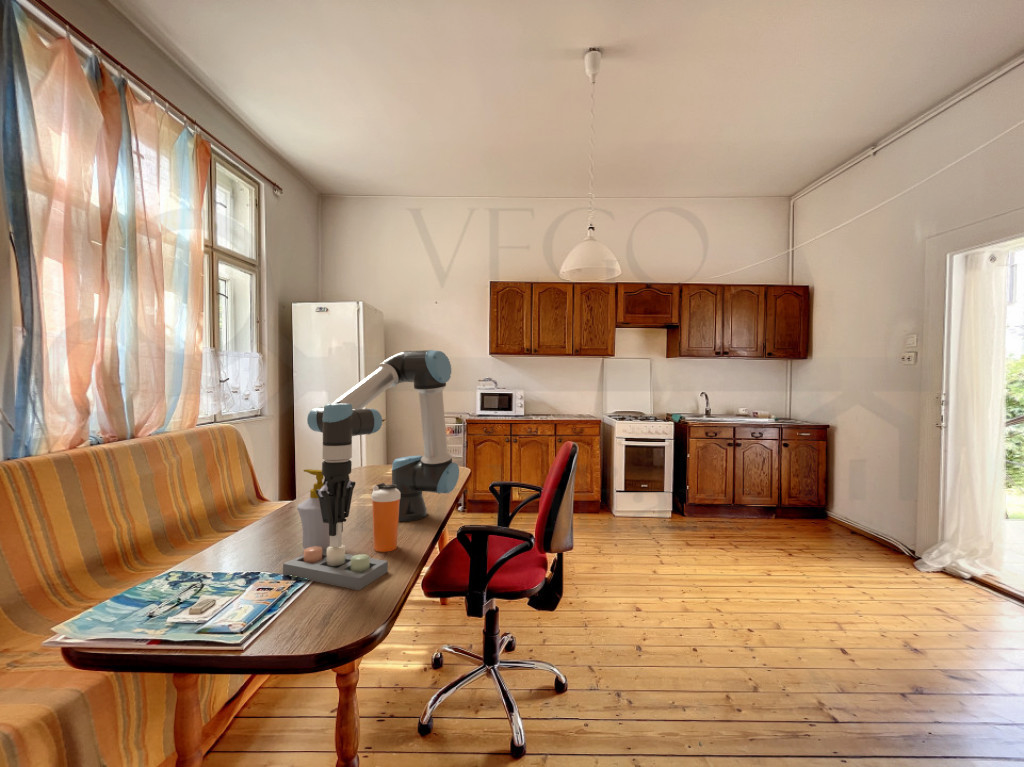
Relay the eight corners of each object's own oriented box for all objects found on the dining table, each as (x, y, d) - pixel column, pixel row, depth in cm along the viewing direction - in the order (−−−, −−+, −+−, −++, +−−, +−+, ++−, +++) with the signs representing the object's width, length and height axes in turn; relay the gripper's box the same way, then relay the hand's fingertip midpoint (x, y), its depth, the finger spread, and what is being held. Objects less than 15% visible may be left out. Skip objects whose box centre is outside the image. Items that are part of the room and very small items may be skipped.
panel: (316, 558, 135) (316, 548, 135) (387, 571, 126) (387, 561, 126) (283, 574, 123) (283, 563, 123) (359, 590, 115) (359, 578, 115)
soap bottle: (313, 539, 151) (314, 465, 150) (348, 543, 148) (349, 467, 148) (287, 553, 138) (288, 472, 138) (324, 557, 136) (325, 474, 135)
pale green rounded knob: (358, 567, 125) (358, 553, 125) (373, 570, 123) (373, 555, 123) (346, 574, 120) (346, 559, 120) (361, 577, 119) (361, 562, 119)
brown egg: (312, 559, 130) (312, 545, 130) (326, 561, 129) (326, 547, 129) (299, 565, 126) (299, 551, 126) (313, 568, 124) (313, 553, 124)
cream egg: (335, 557, 128) (335, 543, 128) (349, 560, 126) (349, 546, 126) (322, 564, 123) (322, 549, 123) (336, 566, 122) (337, 552, 122)
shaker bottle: (392, 554, 139) (392, 488, 139) (365, 551, 141) (365, 487, 140) (404, 544, 147) (405, 482, 147) (379, 542, 149) (380, 480, 149)
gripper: (342, 455, 132) (341, 537, 132) (308, 462, 120) (306, 552, 120) (363, 457, 129) (362, 540, 129) (330, 464, 117) (329, 556, 117)
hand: (335, 546), depth 124 cm, fingers closed
